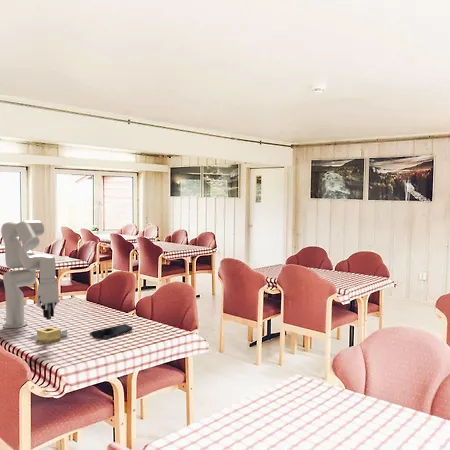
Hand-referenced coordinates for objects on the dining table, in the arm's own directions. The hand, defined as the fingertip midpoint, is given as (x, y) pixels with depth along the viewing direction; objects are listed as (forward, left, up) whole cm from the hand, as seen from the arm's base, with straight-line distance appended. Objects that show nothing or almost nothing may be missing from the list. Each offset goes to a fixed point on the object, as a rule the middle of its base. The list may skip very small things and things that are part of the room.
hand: (48, 316), depth 245 cm
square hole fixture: (-3, +2, -13) cm, 14 cm away
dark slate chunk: (+13, +30, -14) cm, 36 cm away
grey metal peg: (0, 0, -1) cm, 1 cm away
